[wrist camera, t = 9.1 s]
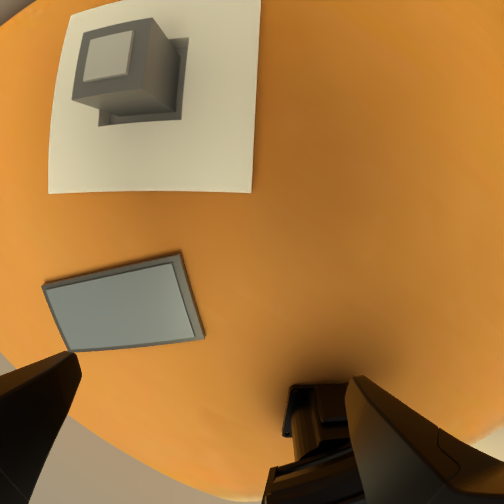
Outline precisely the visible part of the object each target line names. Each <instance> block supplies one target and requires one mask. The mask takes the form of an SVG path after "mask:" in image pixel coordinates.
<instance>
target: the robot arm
mask: <svg viewBox="0 0 504 504" xmlns="http://www.w3.org/2000/svg"><path fill="white" fill-rule="evenodd" d="M81 377H82V372H81V368H80V365H79V361H78V358H77V355H76V354H75V353H73V352H69V351H63V352H61V353H58V354H56V355H53V356H51V357H48V358H45V359H43V360H40V361H38V362H35V363H33V364H30V365H27V366H25V367H22V368H20V369H17V370H14V371H12V372H9V373H6V374H4V375H1V376H0V504H28V503H29V500H30V497H31V495H32V493H33V490H34V488H35V485H36V482H37V480H38V478H39V475H40V473H41V470H42V468H43V466H44V463H45V461H46V459H47V457H48V454H49V452H50V450H51V448H52V446H53V443H54V441H55V439H56V437H57V435H58V432H59V430H60V428H61V426H62V424H63V422H64V420H65V418H66V416H67V414H68V412H69V409H70V407H71V404H72V402H73V399H74V396H75V394H76V391H77V388H78V386H79V383H80V381H81ZM295 390H297V391H296V392H293V391H295ZM282 436H283V437H292V439H293V447H294V456H295V462H293V463H289V464H286V465H283V466H280V467H278V466H276V467H272V468H270V471H269V475H268V479H267V483H266V487H265V491H264V495H263V499H262V503H261V504H504V462H503V461H500V460H498V459H496V458H493V457H491V456H489V455H487V454H485V453H483V452H481V451H479V450H477V449H475V448H473V447H471V446H469V445H467V444H466V443H464V442H462V441H460V440H458V439H457V438H455V437H453V436H452V435H450V434H449V433H447V432H445V431H444V430H442V429H441V428H438V426H436V425H435V424H433V423H432V422H430V421H429V420H427V419H426V418H424V417H423V416H421V415H420V414H418V413H417V412H416V411H414V410H413V409H411V408H410V407H408V406H407V405H405V404H404V403H402V402H401V401H399V400H398V399H397V398H395V397H394V396H392V395H391V394H389V393H388V392H387V391H385V390H384V389H382V388H381V387H379V386H378V385H377V384H375V383H374V382H372V381H371V380H370V379H368V378H367V377H365V376H352V377H351V379H350V381H349V383H345V384H323V385H293V386H291V387H290V389H289V393H288V399H287V405H286V411H285V417H284V423H283V428H282Z"/></svg>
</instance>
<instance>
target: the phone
mask: <svg viewBox="0 0 504 504" xmlns="http://www.w3.org/2000/svg"><path fill="white" fill-rule="evenodd" d="M41 287H42V290H43V293H44V295H45V298H46V301H47V303H48V306H49V308H50V311H51V313H52V316H53V318H54V320H55V323H56V325H57V327H58V330H59V332H60V334H61V336H62V339H63V341H64V343H65V345H66V347H67V349H68V351H69V352H89V351H103V350H115V349H127V348H137V347H147V346H156V345H164V344H172V343H180V342H188V341H195V340H202V339H205V336H206V334H205V331H204V328H203V325H202V322H201V318H200V315H199V312H198V309H197V305H196V302H195V299H194V296H193V292H192V289H191V285H190V282H189V279H188V275H187V272H186V268H185V265H184V261H183V257H182V254H181V253H177V254H173V255H168V256H164V257H159V258H154V259H150V260H145V261H141V262H136V263H132V264H127V265H123V266H118V267H114V268H109V269H105V270H100V271H96V272H92V273H87V274H83V275H79V276H74V277H70V278H66V279H61V280H57V281H53V282H48V283H45V284H43V285H42V286H41Z"/></svg>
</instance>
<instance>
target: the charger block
mask: <svg viewBox="0 0 504 504" xmlns="http://www.w3.org/2000/svg"><path fill="white" fill-rule="evenodd" d="M180 60H181V57H180V55H179V54H178V52H177V51H176V50H175V48H174V47H173V45H172V44H171V42H170V41H169V40H168V38H167V37H166V35H165V34H164V32H163V31H162V30H161V28H160V27H159V25H158V24H157V23H156V21H155V20H154V19H153V17H152V18H146V19H140V20H134V21H129V22H124V23H120V24H115V25H111V26H107V27H103V28H99V29H95V30H91V31H88V32H84V33H83V37H82V41H81V46H80V51H79V55H78V61H77V66H76V72H75V78H74V84H73V91H72V99H71V100H72V101H75V102H79V103H82V104H85V105H88V106H91V107H93V108H96V109H99V110H102V111H105V112H108V113H111V114H113V115H116V116H119V117H122V116H132V115H142V114H155V113H171V112H176V102H177V90H178V79H179V69H180Z"/></svg>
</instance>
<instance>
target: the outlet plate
mask: <svg viewBox="0 0 504 504" xmlns="http://www.w3.org/2000/svg"><path fill="white" fill-rule="evenodd" d="M260 14H261V0H122V1H118V2H114V3H110V4H106V5H103V6H99V7H96V8H92V9H89V10H86V11H83V12H80V13H77V14H74V15H71V18H70V21H69V25H68V28H67V32H66V36H65V40H64V44H63V49H62V53H61V58H60V63H59V68H58V73H57V79H56V85H55V92H54V99H53V107H52V116H51V126H50V140H49V163H48V194H58V193H79V192H108V191H205V192H236V193H251V192H252V173H253V152H254V132H255V112H256V91H257V72H258V52H259V33H260ZM152 17H153V19H154V20H155V21H156V23H157V24H158V25H159V27H160V28H161V30H162V31H163V32H164V34H165V35H166V37H167V38H168V40H169V41H170V42H171V44H172V45H173V47H174V48H175V50H176V51H177V52H178V54H179V55H180V57H181V60H180V69H179V79H178V90H177V102H176V112H171V113H155V114H142V115H132V116H122V117H119V116H116V115H113V114H111V113H108V112H105V111H102V110H99V109H96V108H93V107H91V106H88V105H85V104H82V103H79V102H75V101H72V100H71V99H72V91H73V84H74V78H75V72H76V66H77V61H78V55H79V51H80V46H81V41H82V37H83V33H84V32H88V31H91V30H95V29H99V28H103V27H107V26H111V25H115V24H120V23H124V22H129V21H134V20H140V19H146V18H152Z"/></svg>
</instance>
